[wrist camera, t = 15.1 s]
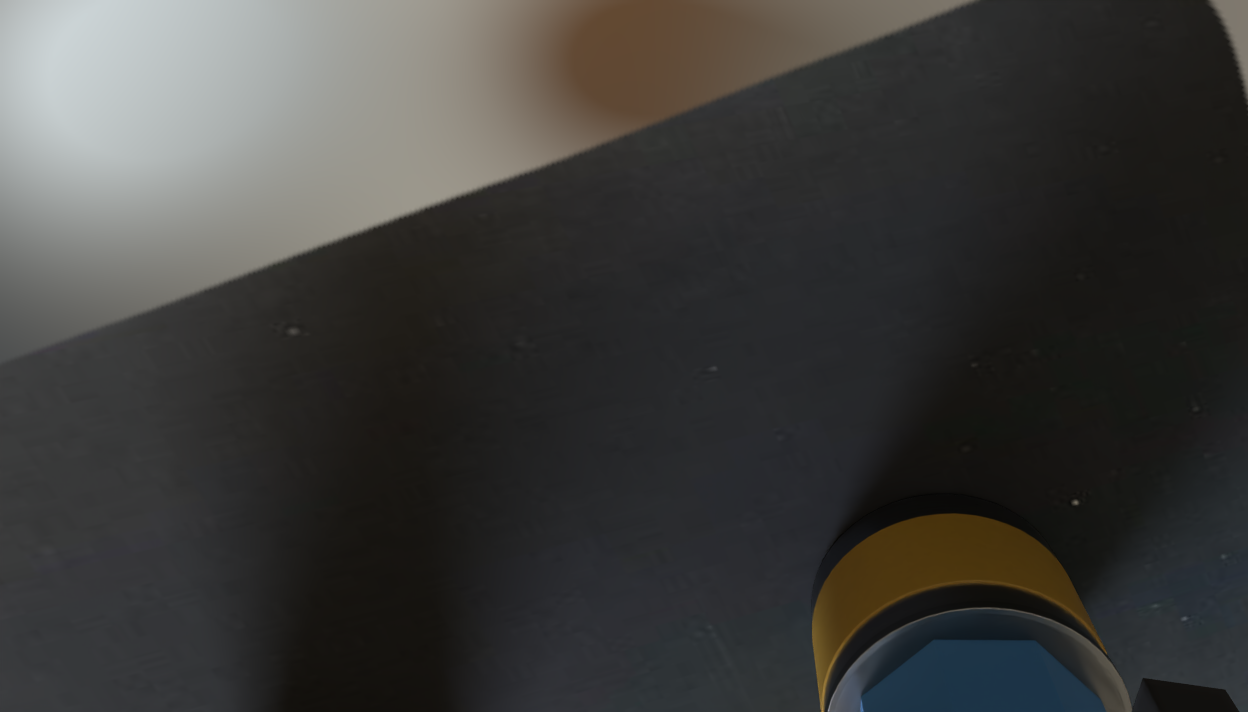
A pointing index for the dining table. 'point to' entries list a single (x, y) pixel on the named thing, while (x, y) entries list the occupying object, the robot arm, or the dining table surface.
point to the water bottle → (981, 681)
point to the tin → (945, 596)
